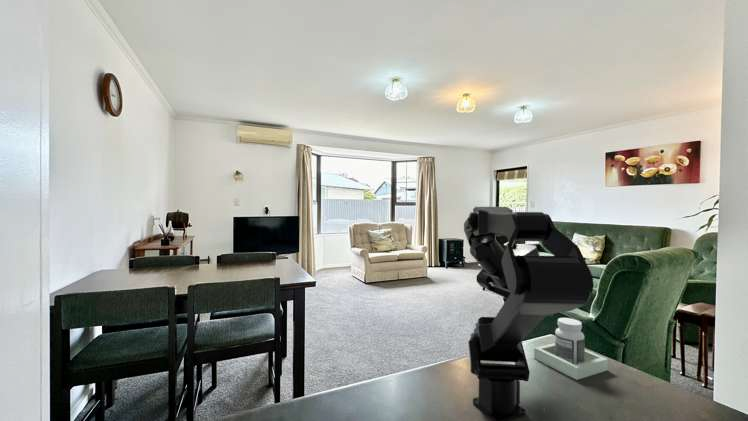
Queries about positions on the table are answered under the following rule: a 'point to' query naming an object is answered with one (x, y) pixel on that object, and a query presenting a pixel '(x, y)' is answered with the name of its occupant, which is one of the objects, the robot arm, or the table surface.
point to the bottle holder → (579, 371)
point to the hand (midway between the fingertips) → (534, 307)
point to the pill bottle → (570, 341)
